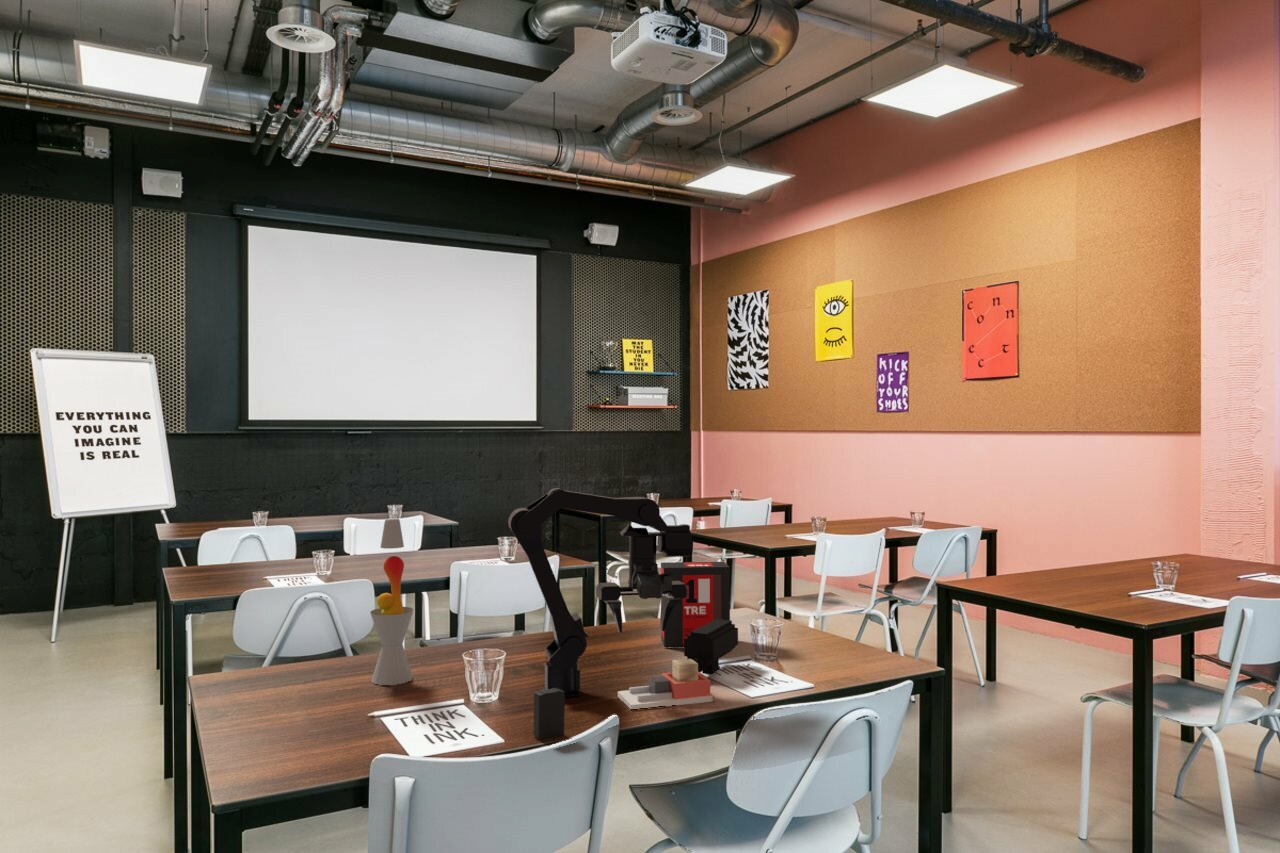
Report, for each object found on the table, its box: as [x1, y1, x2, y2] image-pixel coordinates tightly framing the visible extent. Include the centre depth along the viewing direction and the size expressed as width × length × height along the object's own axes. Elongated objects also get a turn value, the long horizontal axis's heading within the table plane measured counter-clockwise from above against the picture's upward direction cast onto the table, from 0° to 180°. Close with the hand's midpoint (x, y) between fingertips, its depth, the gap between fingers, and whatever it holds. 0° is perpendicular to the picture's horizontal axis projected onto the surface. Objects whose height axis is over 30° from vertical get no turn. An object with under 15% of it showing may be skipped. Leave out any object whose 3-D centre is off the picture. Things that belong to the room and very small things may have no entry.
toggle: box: [648, 675, 670, 694], centre depth 165 cm, size 3×4×3 cm
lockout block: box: [671, 658, 698, 682], centre depth 166 cm, size 4×4×6 cm
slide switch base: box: [617, 672, 714, 710], centre depth 165 cm, size 17×9×4 cm, turn 107°
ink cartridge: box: [533, 688, 566, 741], centre depth 145 cm, size 5×2×8 cm, turn 121°
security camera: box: [683, 619, 739, 675], centre depth 184 cm, size 7×18×10 cm, turn 152°
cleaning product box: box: [660, 561, 731, 648], centre depth 210 cm, size 16×9×20 cm, turn 94°
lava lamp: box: [369, 517, 415, 686], centre depth 179 cm, size 9×9×35 cm
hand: (641, 631), depth 173 cm, fingers open, 9 cm apart
